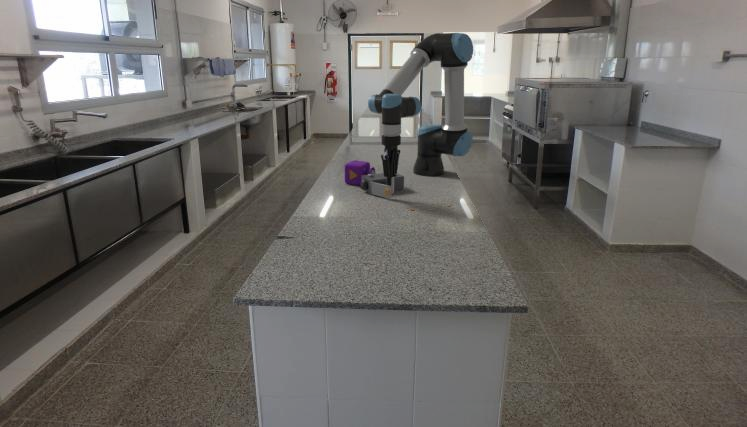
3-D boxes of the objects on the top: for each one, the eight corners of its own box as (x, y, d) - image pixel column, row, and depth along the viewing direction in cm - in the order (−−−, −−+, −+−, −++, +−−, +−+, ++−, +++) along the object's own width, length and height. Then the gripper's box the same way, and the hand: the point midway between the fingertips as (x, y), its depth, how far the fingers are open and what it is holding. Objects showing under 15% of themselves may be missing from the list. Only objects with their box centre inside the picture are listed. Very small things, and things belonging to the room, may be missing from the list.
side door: (391, 198, 198) (391, 185, 197) (389, 199, 197) (389, 186, 196) (371, 193, 205) (371, 181, 203) (369, 194, 204) (369, 181, 202)
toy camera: (373, 187, 216) (373, 165, 212) (343, 185, 218) (342, 163, 215) (377, 181, 226) (378, 159, 222) (349, 179, 228) (348, 158, 225)
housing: (393, 184, 219) (393, 170, 217) (403, 189, 212) (404, 174, 210) (358, 189, 212) (358, 174, 210) (367, 194, 204) (367, 179, 202)
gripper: (389, 131, 198) (389, 187, 206) (375, 136, 188) (374, 195, 195) (406, 133, 195) (405, 189, 203) (392, 138, 184) (391, 198, 192)
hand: (390, 192), depth 199 cm, fingers closed
